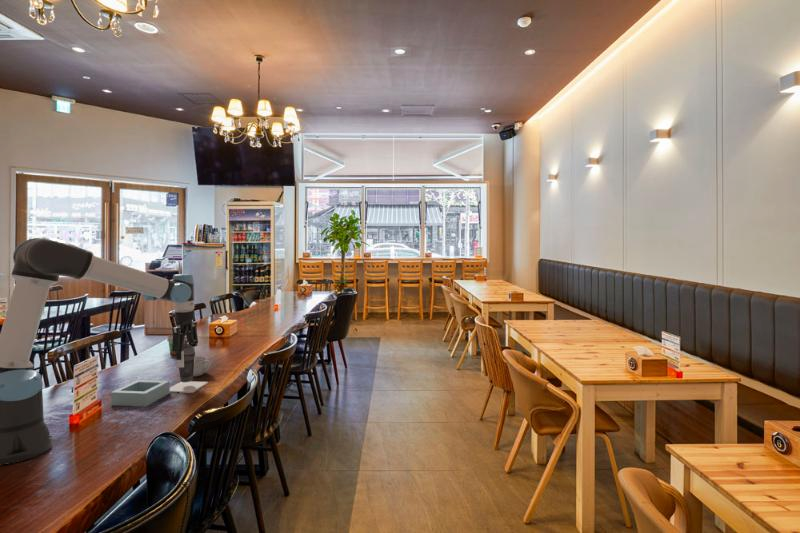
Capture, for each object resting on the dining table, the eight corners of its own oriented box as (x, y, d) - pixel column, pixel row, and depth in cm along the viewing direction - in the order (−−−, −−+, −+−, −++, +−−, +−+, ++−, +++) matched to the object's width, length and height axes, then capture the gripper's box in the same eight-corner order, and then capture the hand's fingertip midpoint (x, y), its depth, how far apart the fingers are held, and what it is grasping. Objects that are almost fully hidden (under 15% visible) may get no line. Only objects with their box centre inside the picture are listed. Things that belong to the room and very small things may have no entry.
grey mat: (192, 393, 173) (191, 391, 173) (164, 392, 174) (164, 390, 174) (208, 383, 185) (208, 381, 185) (182, 382, 186) (182, 380, 186)
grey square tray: (145, 406, 159) (145, 393, 158) (111, 405, 160) (110, 392, 160) (169, 393, 173) (169, 381, 172) (137, 392, 174) (137, 380, 174)
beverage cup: (188, 384, 175) (186, 336, 173) (173, 382, 176) (171, 335, 175) (200, 378, 182) (198, 332, 181) (185, 377, 183) (183, 331, 182)
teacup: (177, 376, 194) (176, 359, 194) (198, 370, 204) (197, 353, 203) (197, 381, 188) (196, 363, 187) (217, 374, 197) (217, 357, 197)
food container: (162, 355, 229) (161, 337, 229) (171, 352, 235) (170, 334, 235) (180, 357, 226) (179, 338, 225) (189, 354, 232) (188, 336, 231)
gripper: (178, 315, 167) (180, 371, 168) (206, 307, 187) (207, 358, 188) (160, 314, 168) (162, 371, 169) (190, 306, 188) (191, 357, 189)
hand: (186, 364), depth 179 cm, fingers closed on beverage cup, 7 cm apart
